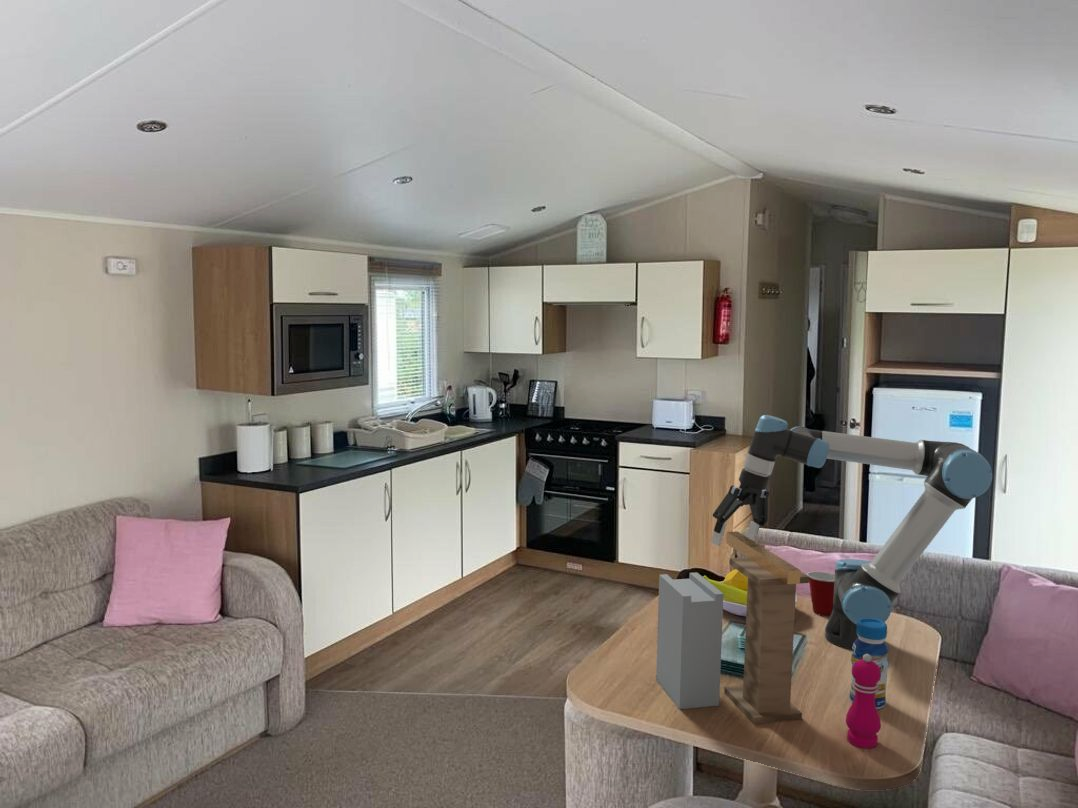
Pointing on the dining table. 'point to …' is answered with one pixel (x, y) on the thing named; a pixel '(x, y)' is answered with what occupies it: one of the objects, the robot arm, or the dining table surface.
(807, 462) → the robot arm
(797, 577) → the wooden bar
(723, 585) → the fruit bowl
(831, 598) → the plastic cup
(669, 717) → the dining table surface
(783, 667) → the walnut stand
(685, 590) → the block
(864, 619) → the beverage bottle
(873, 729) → the pepper mill
